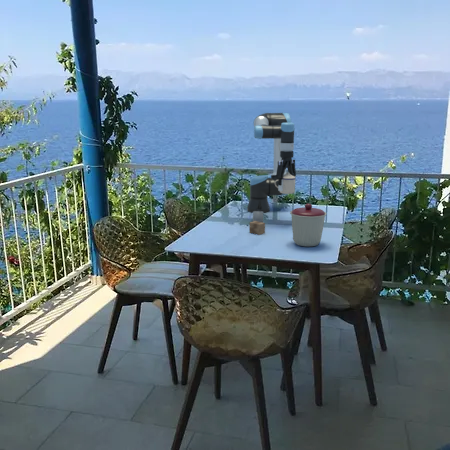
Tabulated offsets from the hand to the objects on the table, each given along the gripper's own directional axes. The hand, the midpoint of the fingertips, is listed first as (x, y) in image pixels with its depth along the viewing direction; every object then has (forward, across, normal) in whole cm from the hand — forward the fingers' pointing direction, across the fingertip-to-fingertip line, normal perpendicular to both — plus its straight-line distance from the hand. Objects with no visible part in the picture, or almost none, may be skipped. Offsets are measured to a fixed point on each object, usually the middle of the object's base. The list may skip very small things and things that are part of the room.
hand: (285, 189), depth 272 cm
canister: (+22, -23, -31) cm, 44 cm away
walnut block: (+21, -24, +1) cm, 32 cm away
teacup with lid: (+2, -1, 0) cm, 2 cm away
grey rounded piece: (+21, -10, +12) cm, 27 cm away
